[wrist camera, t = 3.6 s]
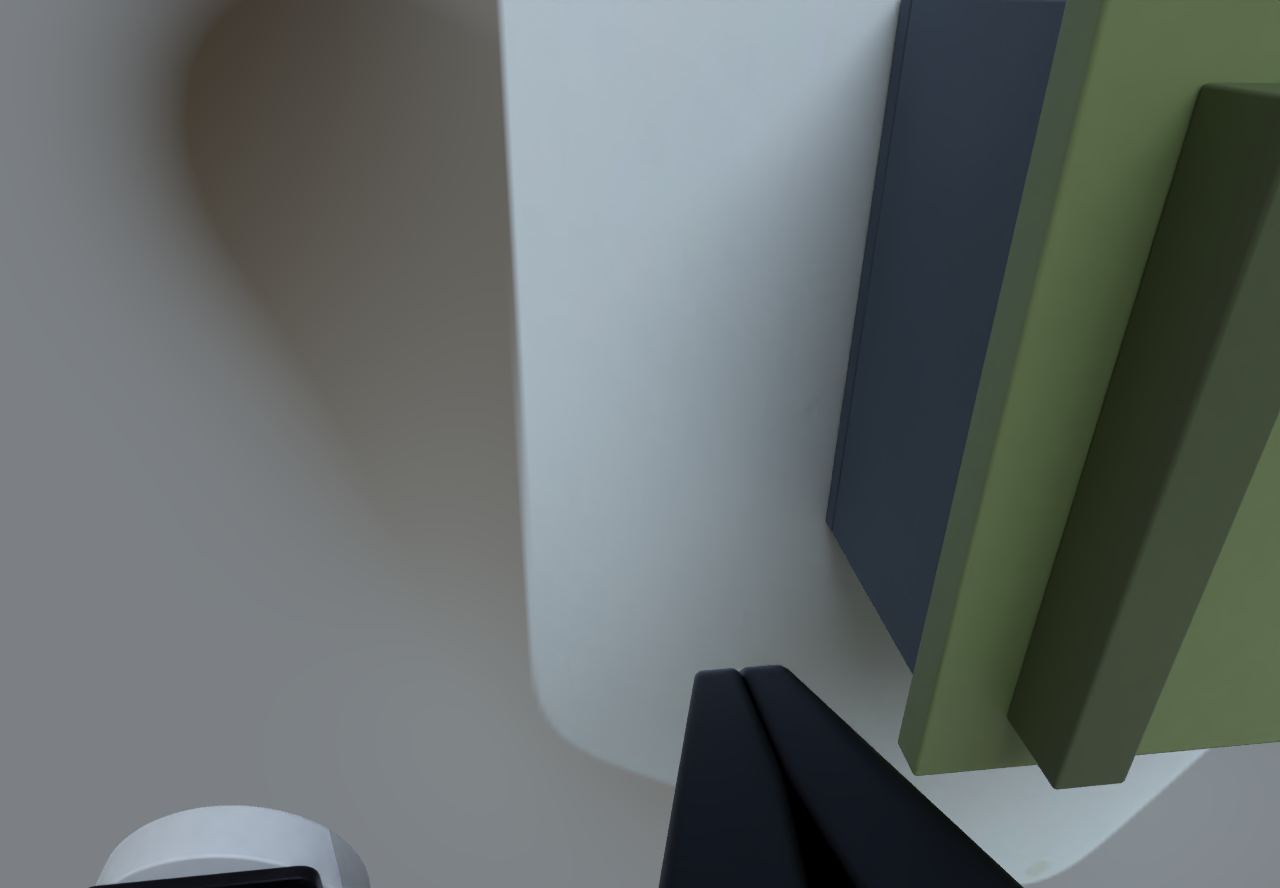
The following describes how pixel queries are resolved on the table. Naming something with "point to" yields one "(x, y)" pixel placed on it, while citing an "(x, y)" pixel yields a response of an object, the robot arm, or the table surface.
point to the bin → (933, 283)
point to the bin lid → (1124, 419)
